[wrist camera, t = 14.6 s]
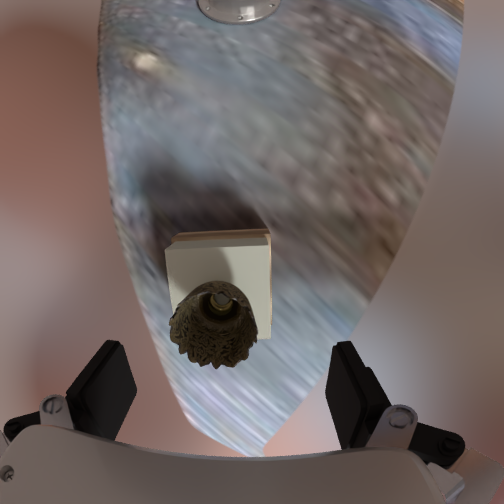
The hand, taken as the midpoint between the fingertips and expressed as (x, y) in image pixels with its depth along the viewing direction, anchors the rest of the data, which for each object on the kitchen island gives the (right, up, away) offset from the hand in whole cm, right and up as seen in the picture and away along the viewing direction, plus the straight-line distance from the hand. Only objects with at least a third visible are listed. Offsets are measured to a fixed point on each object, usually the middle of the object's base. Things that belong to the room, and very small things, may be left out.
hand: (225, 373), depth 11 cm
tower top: (-2, +1, +23) cm, 23 cm away
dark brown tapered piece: (-2, 0, +19) cm, 19 cm away
